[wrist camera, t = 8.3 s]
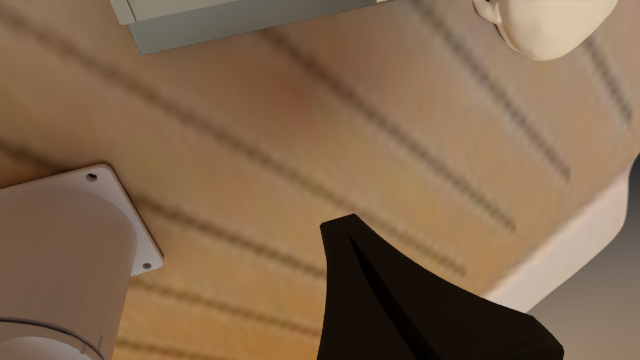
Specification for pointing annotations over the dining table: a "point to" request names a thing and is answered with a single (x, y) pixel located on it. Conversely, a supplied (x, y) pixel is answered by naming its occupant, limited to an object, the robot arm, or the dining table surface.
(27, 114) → the dining table surface
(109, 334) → the robot arm
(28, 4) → the dining table surface
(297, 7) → the fader console
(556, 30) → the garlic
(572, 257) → the dining table surface
